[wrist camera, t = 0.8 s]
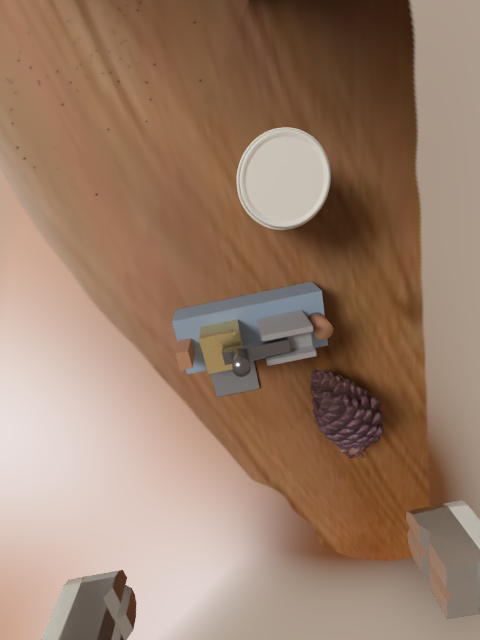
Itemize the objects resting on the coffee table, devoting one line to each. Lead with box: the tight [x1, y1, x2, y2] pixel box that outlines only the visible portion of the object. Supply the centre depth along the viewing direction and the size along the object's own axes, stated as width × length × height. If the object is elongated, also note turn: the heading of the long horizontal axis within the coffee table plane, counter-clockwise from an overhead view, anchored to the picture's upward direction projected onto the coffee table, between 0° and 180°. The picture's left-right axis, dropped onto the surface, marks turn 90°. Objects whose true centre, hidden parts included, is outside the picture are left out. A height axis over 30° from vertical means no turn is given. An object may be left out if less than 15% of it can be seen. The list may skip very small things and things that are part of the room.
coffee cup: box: [237, 127, 331, 230], centre depth 38 cm, size 9×9×12 cm
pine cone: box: [311, 370, 386, 458], centre depth 51 cm, size 18×10×10 cm, turn 33°
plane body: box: [172, 282, 333, 374], centre depth 45 cm, size 8×20×11 cm, turn 101°
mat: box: [211, 361, 260, 397], centre depth 53 cm, size 6×7×1 cm
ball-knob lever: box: [222, 337, 291, 377], centre depth 39 cm, size 2×8×4 cm, turn 101°
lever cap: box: [199, 319, 243, 374], centre depth 44 cm, size 5×5×4 cm
